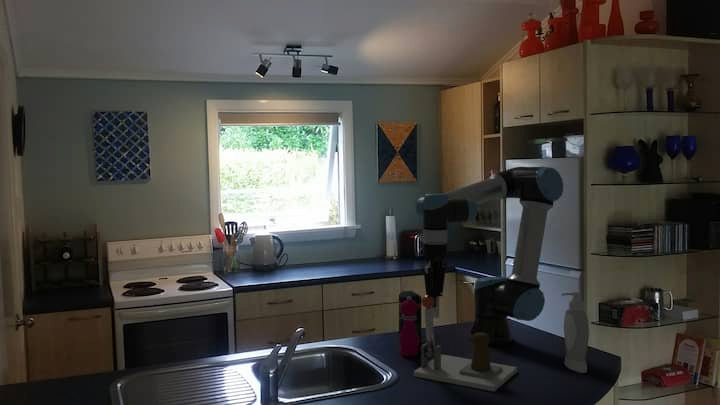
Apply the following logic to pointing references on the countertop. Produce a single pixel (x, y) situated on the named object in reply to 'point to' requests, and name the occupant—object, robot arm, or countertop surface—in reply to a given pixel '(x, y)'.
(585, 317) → the soap bottle
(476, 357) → the cork
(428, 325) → the press lever
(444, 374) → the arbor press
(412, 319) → the pepper mill
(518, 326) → the countertop surface
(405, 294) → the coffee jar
